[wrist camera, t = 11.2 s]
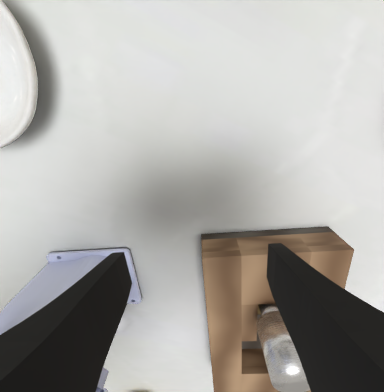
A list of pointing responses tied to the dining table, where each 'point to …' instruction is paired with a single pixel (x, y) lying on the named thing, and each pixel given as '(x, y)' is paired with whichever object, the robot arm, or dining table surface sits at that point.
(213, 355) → the keyhole board
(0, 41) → the spoon rest
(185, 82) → the dining table surface
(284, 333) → the peg
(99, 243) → the dining table surface
